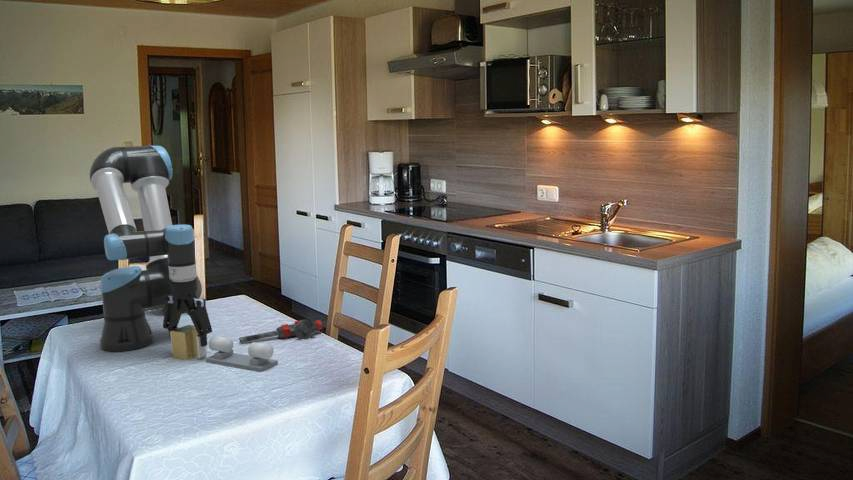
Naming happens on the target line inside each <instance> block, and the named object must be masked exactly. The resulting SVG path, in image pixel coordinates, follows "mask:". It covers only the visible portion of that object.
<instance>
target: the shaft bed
mask: <svg viewBox="0 0 853 480" xmlns="http://www.w3.org/2000/svg"><path fill="white" fill-rule="evenodd" d="M208 348H209V349H210V350H212V351H215V352H214V353H213V355H211V356H209V357H206V358H205V362H206V363H211V364H214V365H215V364H216V365H220V366H226V367H233V368H237V369H243V370H249V371H255V372H260V373H262V372H263V371H266V370H268V369H270V368H272V367H274V366H276V365H278V364H279V360H277V359H272V357H273V355H274V346H273V345H271V344H267V343H264V342H255V341H253V342H251V343H250V344H249V346H248V349H247V353H248V355H246V354H242V353H235V352H234V349H233V348H234V341H233V339H232V338H231V337H230V338H229V337H223V336H216V335H213V336H211V337H210V339H209V340H208Z"/></svg>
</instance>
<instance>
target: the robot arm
mask: <svg viewBox="0 0 853 480" xmlns="http://www.w3.org/2000/svg"><path fill="white" fill-rule="evenodd" d="M172 165H173V164H172V161H171V157H170V155H169V153H168V151H167V149H166V148H164V147H163V146H161V145H151V144H148V145H140V146H135V145H134V146H113V147H109V148H107V149H105V150H103V151H102V152H101V153H100V154H97V156H96V158H95V159H94V161H93V162H92V164H91V166H90V170H89V180H90V184H91V186H92V188H93V189H94V190H95V191H96V192H97V195H98V199H99V203H100V207H101V210H102V213H103V217H104V221H105V224H106V228H107V231H108V234H106V235H105V236H104V238H103V246H104V253H105V257H106V259H107V260H108V261H125V260H132V259H139V258H147V257H148V258H149V261H148V262H147V263H145V264H146V265H145V269H146V270H145V269H144V270H143V269H142V268H141V267H140V266H138V265H133V266H125V267H124V266H123V267H120V268H115V269H112V270H110V271H107V272H105V273H104V274H103V275H102V276H101V278H100V292H101V299H102V300H101V301H102V308H103V309H102V310H103V320H104V323H103V327H102V331H101V332H102V333H101V337H100V339H99V344H100V349H101V350H103V351H106V352H127V351H133V350H138V349H142V348H145V347H147V346H150V345H151V344H153V343H154V334H153V331H152V328H151V327H150V325H149V322H148V320H147V317H146V310H145V309H147V308H148V309H149V308H150V309H151V308H154V307H155V308H156V307H158V306H164V305H165V310H164V311H163V313H164V314H163V320H162V328H163V329H166V330H167V331H168V336H169V342H170V346H171V354H172V355H173V349H172V337H171V331H172V330H175V329H178V328H179V327H178V326H179V323H180V320H181V318H182V317H181V316H182V315H183V312H184V313H186V314H187V315H188V316H189V318H190V319H191V320H190V321H191V322H192V325H194V326H195V328H196V330H197V333H198V335H197V336H196V338H197V351H198V356H197V358H198V359H202V358H205V357H206V356H208V352H207V346H208V334H211V333H212V332H213V328H212V325H211V322H210V317H209V314H208V311H207V310H208V309H207V307H206V305H207V304H206V303H207V302H206V298H201V299H200V298H199V299H197V297H196V292H197V291H198V285H197V279H196V277H197V276H198V273H197V263H196V252H195V251H196V250H195V235H194V229H193V226H192V225H190V224H173V221H172V217H171V212H170V206H169V201H168V196H167V189H166V188H167V187H168V186H169V184H170V181H171V180H172V178H173V167H172ZM128 183H130V187H131V189H132V190H133V191H134V192H136V193H137V195H138V197H137V198H138V201H139V208H140V215H141V218H142V225H143V230H142V231H138V230H137V226H136V224H135V220H134V218H133V217H134V216H133V214H132V210H131V207H130V204H129V202H128V198H127V195H126V192H125V188H124V184H128ZM201 330H202V331H201Z"/></svg>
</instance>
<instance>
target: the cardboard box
mask: <svg viewBox="0 0 853 480" xmlns="http://www.w3.org/2000/svg"><path fill="white" fill-rule="evenodd" d="M201 331H202V330H201ZM197 335H198V333H197V330H196V328H195V326H194V324H188V325H187V324H186V325H183V326H182V327H181V326H180V327H178V329H175V330H172V331H171V337H172V348H171V350H172V349H173V354H172V358H173V359H179V360H183V361H184V360H185V361H189V360H192V359H194V358H196V357H198V351H197V338H196V336H197Z"/></svg>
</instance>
